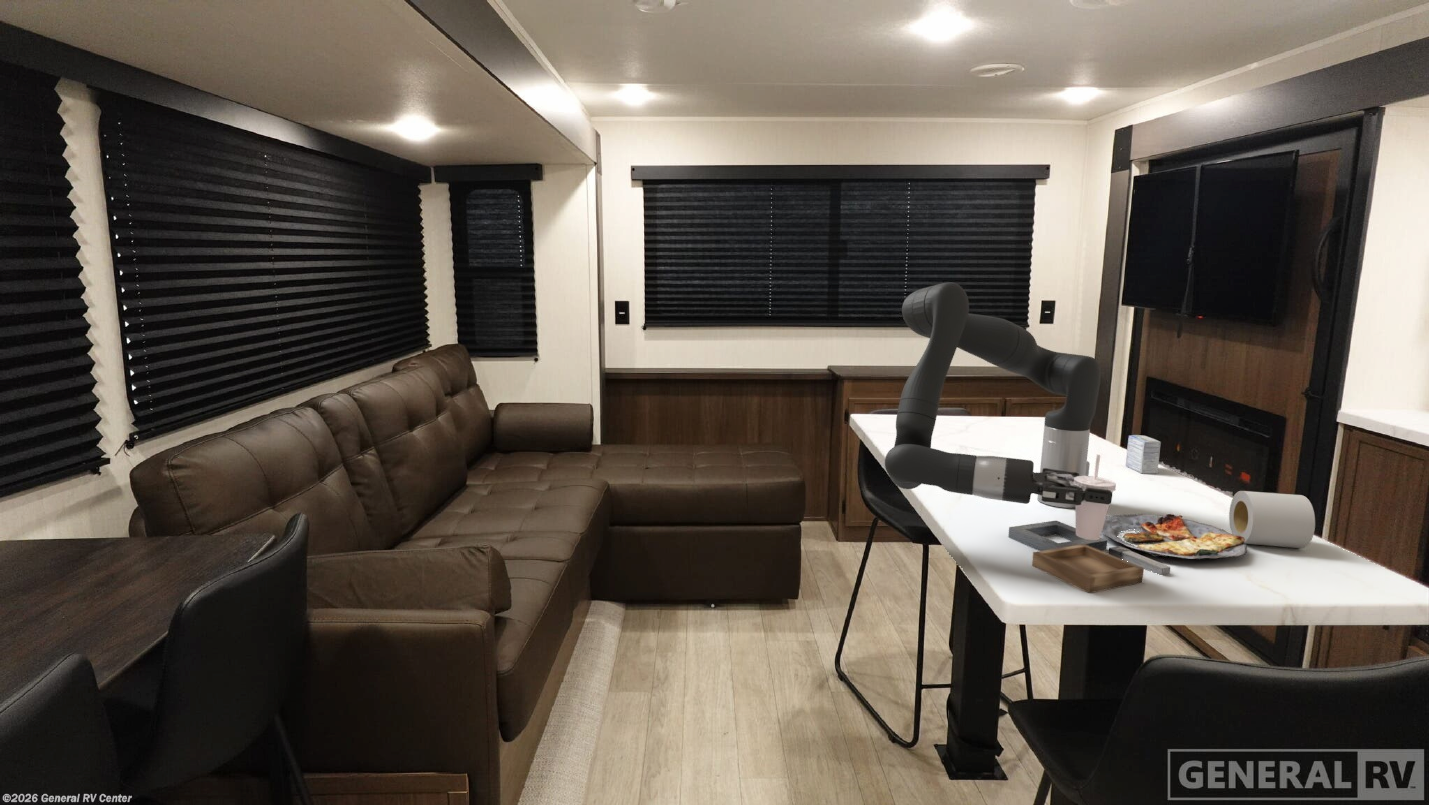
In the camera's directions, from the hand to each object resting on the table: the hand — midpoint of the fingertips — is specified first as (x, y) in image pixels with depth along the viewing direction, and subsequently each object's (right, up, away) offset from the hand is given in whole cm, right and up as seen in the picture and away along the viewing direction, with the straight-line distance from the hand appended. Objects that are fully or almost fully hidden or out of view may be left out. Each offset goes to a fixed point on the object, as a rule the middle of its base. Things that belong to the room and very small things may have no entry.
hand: (1109, 492), depth 126 cm
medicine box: (+47, -3, +75) cm, 88 cm away
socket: (-1, -12, +18) cm, 22 cm away
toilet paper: (+41, -13, +20) cm, 47 cm away
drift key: (+10, -14, +8) cm, 19 cm away
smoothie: (-2, -8, +2) cm, 9 cm away
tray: (-2, -14, +3) cm, 15 cm away
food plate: (+21, -12, +20) cm, 31 cm away
